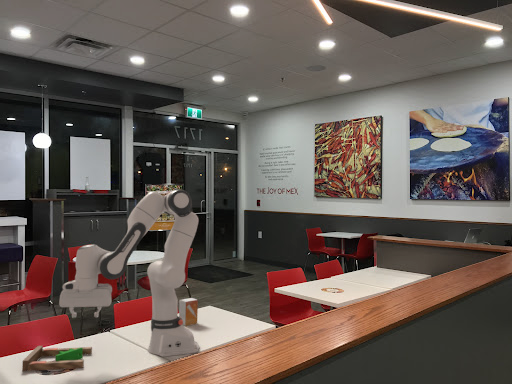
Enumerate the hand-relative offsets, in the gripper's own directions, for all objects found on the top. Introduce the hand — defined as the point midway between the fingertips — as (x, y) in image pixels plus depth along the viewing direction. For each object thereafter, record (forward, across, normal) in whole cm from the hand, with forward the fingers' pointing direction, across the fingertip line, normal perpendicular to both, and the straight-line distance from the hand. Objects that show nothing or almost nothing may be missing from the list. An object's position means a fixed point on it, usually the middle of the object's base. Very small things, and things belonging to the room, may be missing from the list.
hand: (85, 317), depth 173 cm
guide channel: (+18, +9, 0) cm, 20 cm away
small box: (+17, -43, -47) cm, 66 cm away
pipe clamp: (+18, +6, +1) cm, 19 cm away
